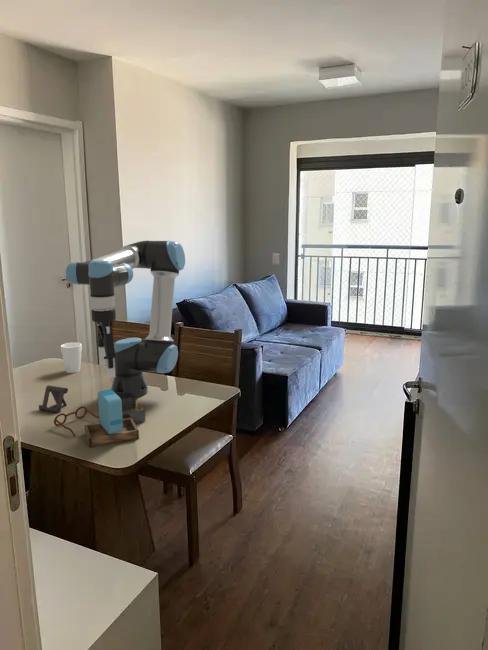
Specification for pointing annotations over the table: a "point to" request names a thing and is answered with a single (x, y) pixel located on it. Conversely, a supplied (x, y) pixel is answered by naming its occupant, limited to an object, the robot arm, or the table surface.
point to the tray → (101, 437)
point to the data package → (110, 411)
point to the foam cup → (72, 356)
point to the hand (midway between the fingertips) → (107, 371)
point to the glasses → (70, 414)
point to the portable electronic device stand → (58, 396)
